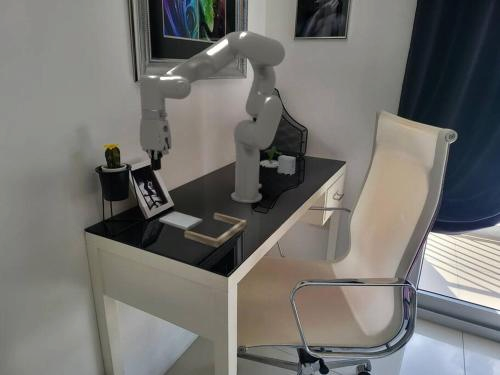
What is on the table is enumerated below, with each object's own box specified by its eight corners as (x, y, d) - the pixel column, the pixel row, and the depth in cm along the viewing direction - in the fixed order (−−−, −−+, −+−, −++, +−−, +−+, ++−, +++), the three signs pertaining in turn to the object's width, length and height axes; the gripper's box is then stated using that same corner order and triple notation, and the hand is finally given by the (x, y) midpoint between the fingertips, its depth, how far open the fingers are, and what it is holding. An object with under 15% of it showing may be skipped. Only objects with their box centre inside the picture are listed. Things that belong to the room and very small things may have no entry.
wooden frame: (215, 217, 121) (215, 212, 121) (245, 226, 116) (246, 220, 115) (184, 237, 107) (184, 231, 106) (217, 247, 101) (217, 241, 101)
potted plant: (284, 163, 194) (286, 146, 190) (275, 168, 184) (276, 150, 180) (266, 160, 199) (266, 143, 196) (256, 165, 189) (256, 146, 186)
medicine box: (294, 173, 176) (296, 157, 173) (291, 175, 172) (292, 159, 169) (281, 171, 180) (282, 154, 177) (277, 173, 176) (278, 156, 173)
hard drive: (202, 218, 118) (175, 210, 124) (187, 227, 111) (159, 218, 117) (202, 223, 118) (175, 214, 124) (187, 232, 112) (159, 222, 118)
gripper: (179, 116, 110) (180, 171, 116) (145, 111, 117) (147, 163, 123) (163, 118, 104) (165, 176, 110) (127, 113, 110) (131, 168, 116)
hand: (156, 169), depth 116 cm, fingers closed
